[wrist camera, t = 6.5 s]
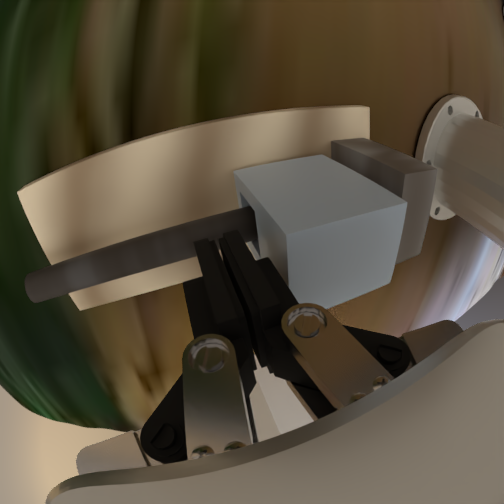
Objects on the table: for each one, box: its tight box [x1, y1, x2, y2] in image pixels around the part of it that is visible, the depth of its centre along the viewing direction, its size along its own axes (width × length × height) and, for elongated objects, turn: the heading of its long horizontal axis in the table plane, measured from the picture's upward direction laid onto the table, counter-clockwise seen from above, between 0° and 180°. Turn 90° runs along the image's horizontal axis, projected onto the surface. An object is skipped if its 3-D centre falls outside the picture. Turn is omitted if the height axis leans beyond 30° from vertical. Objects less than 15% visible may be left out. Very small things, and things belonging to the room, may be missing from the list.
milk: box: [250, 354, 314, 442], centre depth 20 cm, size 12×12×26 cm
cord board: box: [17, 105, 438, 310], centre depth 13 cm, size 21×9×7 cm, turn 97°
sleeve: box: [233, 154, 407, 309], centre depth 12 cm, size 5×4×6 cm
